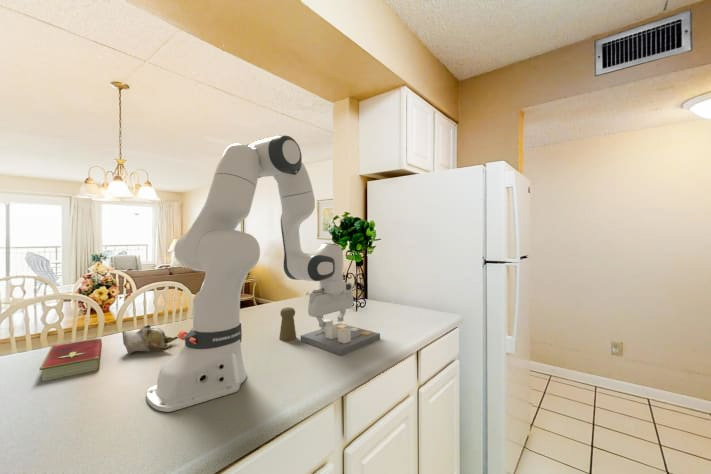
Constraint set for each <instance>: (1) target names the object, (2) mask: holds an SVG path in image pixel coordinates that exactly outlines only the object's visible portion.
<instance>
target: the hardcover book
mask: <svg viewBox="0 0 711 474" xmlns="http://www.w3.org/2000/svg"><path fill="white" fill-rule="evenodd" d="M102 346H103V343H102V338H101V337H98V338H90V339H85V340H77V341H73V342H67V343H61V344H53V345H51V347H50V348H49V351H48V352H47V354H46V356H45V358H44V360H43V362H42V364H41V365H40V367H39V371H41V381H42V382H46V381H51V380H55V379H59V378H65V377H69V376H70V377H71V376H73V375H79V374H84V373H88V372H89V373H90V372H93V371H99V370H100V367H101V356H102Z"/></svg>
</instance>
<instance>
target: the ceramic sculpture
mask: <svg viewBox="0 0 711 474" xmlns="http://www.w3.org/2000/svg"><path fill="white" fill-rule="evenodd" d="M177 339H179V338H178V336H174V337H171V336H168V335H166V334H165V331H164V330H163V329H162V328H159V327H153V328H152V326H151V325H149V324H148V325H145V326H143V327H141V328H140V329H139V330H138V331H132V330H131V331H129V330H122V341H123V342H122V343H123V345H124V347H125V350H126V352H127V354H128V355H129V354H133V353H135V352H137V351H141V352H158V353H160V352H164V351H166V350H170V349H171V348H173V347H172V345H169V343H171V342H174V341H176V340H177Z"/></svg>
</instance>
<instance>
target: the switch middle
mask: <svg viewBox="0 0 711 474" xmlns="http://www.w3.org/2000/svg"><path fill="white" fill-rule="evenodd" d="M337 337H338V326H337V325H336V324H334V323H333V324H330V325H327V326H325V338H329V339H334V338H337Z"/></svg>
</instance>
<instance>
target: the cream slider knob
mask: <svg viewBox="0 0 711 474" xmlns="http://www.w3.org/2000/svg"><path fill="white" fill-rule="evenodd" d="M350 341H351V329H348V328H345V327H344V328H341V329H338V342H341V343H344V344H345V343H347V342H350Z"/></svg>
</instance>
